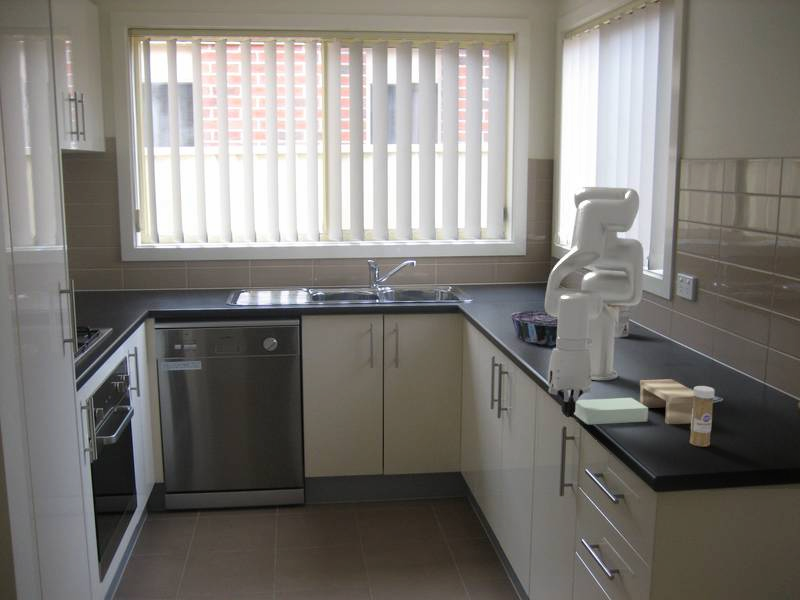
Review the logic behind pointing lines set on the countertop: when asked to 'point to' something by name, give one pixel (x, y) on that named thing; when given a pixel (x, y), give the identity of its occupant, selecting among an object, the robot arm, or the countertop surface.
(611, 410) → the mint green block
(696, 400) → the sprinkles bottle
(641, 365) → the countertop surface
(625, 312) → the coffee box
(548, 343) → the decorative bowl
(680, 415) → the birch shelf
